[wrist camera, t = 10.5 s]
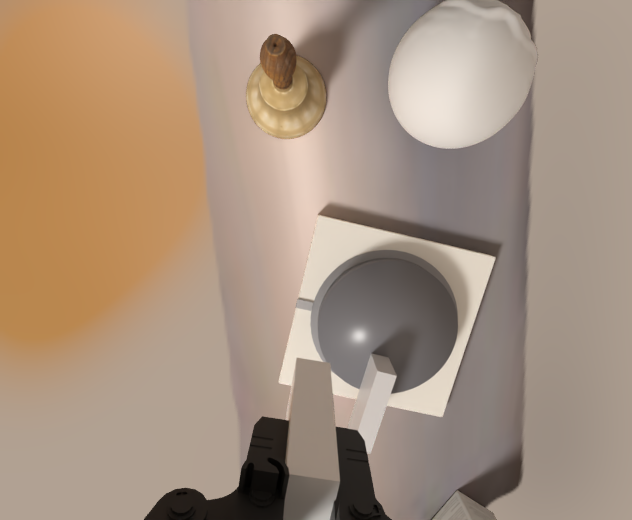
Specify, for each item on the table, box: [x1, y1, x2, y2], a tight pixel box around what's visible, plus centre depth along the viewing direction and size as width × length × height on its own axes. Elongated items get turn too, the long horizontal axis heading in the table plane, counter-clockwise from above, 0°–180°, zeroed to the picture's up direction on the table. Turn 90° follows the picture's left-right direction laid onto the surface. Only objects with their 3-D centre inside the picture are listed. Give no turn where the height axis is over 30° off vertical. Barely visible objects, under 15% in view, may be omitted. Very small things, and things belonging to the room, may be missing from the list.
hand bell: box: [246, 34, 326, 139], centre depth 32 cm, size 8×8×16 cm
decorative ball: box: [388, 0, 538, 149], centre depth 34 cm, size 12×12×12 cm
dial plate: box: [279, 214, 496, 417], centre depth 44 cm, size 20×20×2 cm
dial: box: [318, 258, 458, 454], centre depth 41 cm, size 20×15×6 cm
